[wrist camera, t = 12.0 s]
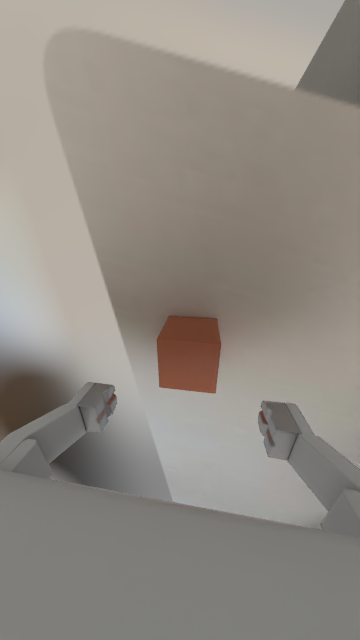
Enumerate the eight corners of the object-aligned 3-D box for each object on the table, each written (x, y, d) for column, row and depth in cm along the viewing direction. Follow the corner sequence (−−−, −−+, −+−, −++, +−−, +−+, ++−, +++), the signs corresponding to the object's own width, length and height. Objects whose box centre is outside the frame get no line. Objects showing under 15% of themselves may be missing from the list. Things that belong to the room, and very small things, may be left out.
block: (169, 315, 14) (156, 339, 11) (217, 318, 14) (221, 344, 10) (169, 355, 16) (159, 387, 12) (213, 359, 15) (215, 393, 12)
